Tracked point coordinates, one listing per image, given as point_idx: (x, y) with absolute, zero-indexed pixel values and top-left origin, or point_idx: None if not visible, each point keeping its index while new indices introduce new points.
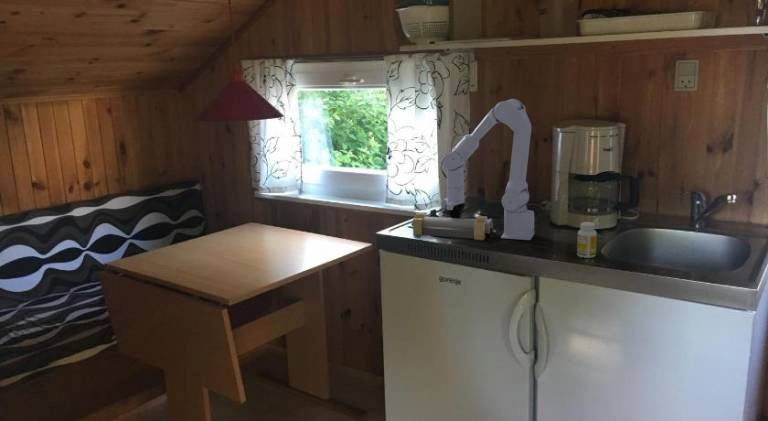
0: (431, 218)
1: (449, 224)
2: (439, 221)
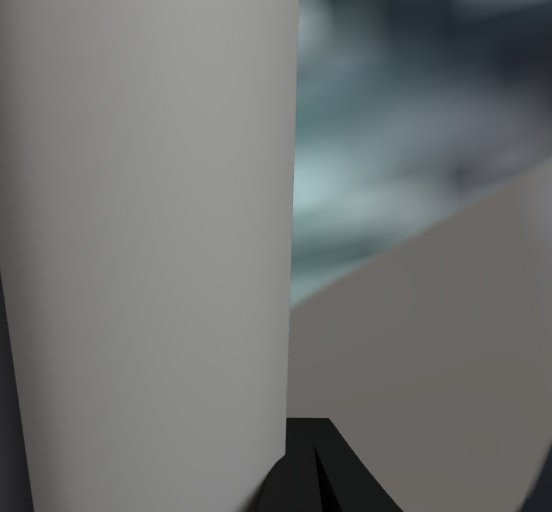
0: (54, 82)
1: (37, 488)
2: (33, 315)
